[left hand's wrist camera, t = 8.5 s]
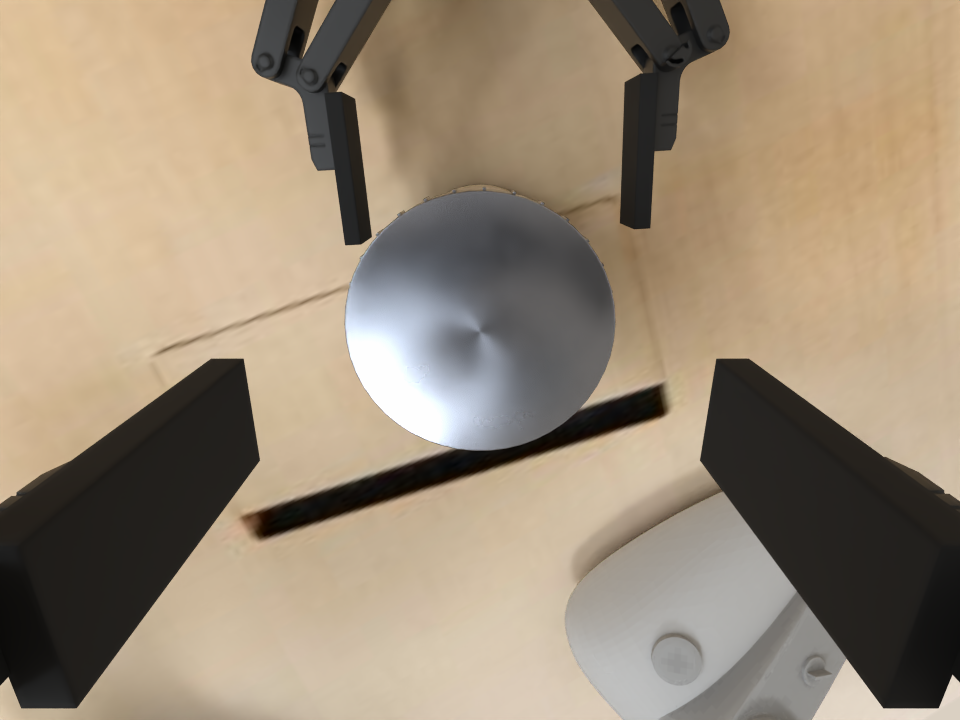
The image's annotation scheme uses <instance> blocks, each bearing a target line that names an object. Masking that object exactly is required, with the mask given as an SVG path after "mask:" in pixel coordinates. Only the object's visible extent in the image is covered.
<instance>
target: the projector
mask: <svg viewBox="0 0 960 720" xmlns="http://www.w3.org/2000/svg"><path fill="white" fill-rule="evenodd" d="M565 628H566V633H567V638H568V641H569V645H570V647H571V650H572V653H573V655H574V657H575V660H576V661H577V663H578V665H579V667H580V668H581V670H582V671H583V673H584V674H585V676H586V677H587V678H588V680H589V681H590V683H591V684H592V685H593V686H594V688H595V689H596V690H597V691H598V692H599V694H600V695H601V696H602V697H603V698H604V700H605V701H606V702H607V703H608V704H609V705H610V706H611V707H612V708H613V709H614V711H615V712H616V713H617V714H618V715H619V716H620V717H621V718H622V719H623V720H812V718H813V717H814V715H815V713H816V711H817V710H818V708H819V706H820V705H821V703H822V701H823V699H824V698H825V696H826V694H827V693H828V691H829V689H830V687H831V685H832V684H833V682H834V680H835V678H836V676H837V675H838V673H839V671H840V669H841V667H842V665H843V664H844V662H845V660H846V657H845V656H844V654H843V653H842V652H841V650H840V649H839V647H838V646H837V645H836V643H835V642H834V641H833V639H832V638H831V637H830V635H829V634H828V633H827V631H826V630H825V629H824V627H823V626H822V625H821V623H820V622H819V620H818V619H817V618H816V616H815V615H814V614H813V612H812V611H811V610H810V608H809V607H808V606H807V604H806V603H805V602H804V600H803V599H802V597H801V596H800V595H799V593H798V592H797V591H796V589H795V588H794V587H793V585H792V584H791V583H790V581H789V580H788V579H787V577H786V576H785V575H784V573H783V572H782V570H781V569H780V568H779V566H778V565H777V564H776V562H775V561H774V560H773V558H772V557H771V556H770V554H769V553H768V552H767V550H766V549H765V547H764V546H763V545H762V543H761V542H760V541H759V539H758V538H757V537H756V535H755V534H754V533H753V531H752V530H751V529H750V527H749V526H748V525H747V523H746V522H745V520H744V519H743V518H742V516H741V515H740V514H739V512H738V511H737V510H736V508H735V507H734V506H733V504H732V503H731V502H730V500H729V499H728V497H727V496H726V495H725V493H724V492H723V491H722V492H720V493H718V494H715V495H713V496H711V497H709V498H707V499H705V500H703V501H701V502H699V503H697V504H695V505H693V506H691V507H689V508H687V509H685V510H683V511H681V512H680V513H678V514H676V515H674V516H672V517H670V518H669V519H667V520H665V521H663V522H662V523H660V524H658V525H657V526H655V527H653V528H651V529H650V530H648V531H646V532H645V533H643V534H642V535H640V536H638V537H637V538H635V539H634V540H632V541H631V542H629V543H628V544H626V545H625V546H623V547H622V548H620V549H619V550H617V551H616V552H614V553H613V554H611V555H610V556H609V557H607V558H606V559H605V560H603V561H602V562H601V563H599V564H598V565H597V566H596V567H595V568H594V569H592V570H591V571H590V572H589V573H588V574H587V575H586V576H585V577H584V578H583V579H582V580H581V581H580V582H579V584H578V585H577V586H576V588H575V589H574V591H573V592H572V594H571V596H570V598H569V600H568V603H567V607H566V612H565Z"/></svg>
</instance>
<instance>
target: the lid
mask: <svg viewBox="0 0 960 720" xmlns="http://www.w3.org/2000/svg"><path fill="white" fill-rule="evenodd" d="M423 200H424V202H422V203H419V204H418V205H416V206H414V207H413V208H411V209H410V210H408V211H407V212H405V211H404V210H403V211H402V212H400V213H399V214H397V215H398V217H397V218H396V219H395V220H394V221H393V222H392V223H390V224H389V225H388V226H387V227H386V228H384V229H382V230H381V231H379V232H378V233H377V234H376V236H377V237H376V238H375V239H374V240H373V242H372V243H371V244H370V246H369V247H368V249H367V250H366V252H365V253H364V254H363V255H362V256H361V257H360V259H361V260H360V262H359V264H358V266H357V268H356V270H355V272H354V274H353V277H352V280H351V282H350V284H349V285H350V287H349V290H348V295H347V301H346V306H345V333H346V342H347V346H348V350H349V355H350V358H351V361H352V364H353V366H354V369H355V371H356V374H357V376H358V377H359V379H360V381H361V383H362V385H363V387H364V388H365V390H366V391H367V393H368V394H369V395H370V397H371V398H372V399H373V401H374V402H375V403H376V404H377V405H378V406H379V407H380V408H381V410H382V411H383V412H384V413H385V414H386V415H388V416H389V417H390V418H391V419H392V420H394V421H395V422H396V423H397V424H399V425H400V426H402V427H403V428H405V429H406V430H408V431H409V432H411V433H413V434H415V435H417V436H419V437H421V438H423V439H425V440H428V441H430V442H433V443H436V444H439V445H442V446H447V447H451V448H455V449H463V450H472V451H483V450H497V449H505V448H509V447H513V446H517V445H521V444H524V443H527V442H529V441H532V440H535V439H537V438H539V437H541V436H543V435H545V434H547V433H549V432H551V431H552V430H554V429H555V428H557V427H558V426H560V425H561V424H563V423H564V422H565V421H567V420H568V419H569V418H570V417H571V416H572V415H573V414H575V413H576V412H577V411H578V410H579V409H580V407H581V406H582V405H583V404H584V403H585V402H586V401H587V400H588V398H589V397H590V395H591V394H592V393H593V391H594V390H595V388H596V387H597V385H598V383H599V381H600V379H601V377H602V376H603V374H604V372H605V369H606V366H607V364H608V361H609V358H610V355H611V351H612V346H613V342H614V333H615V306H614V300H613V295H612V290H611V286H610V283H609V280H608V278H607V275H606V272H605V270H604V268H603V266H604V265H603V263H602V262H600V260H599V258H598V256H597V254H596V253H595V252H594V250H593V249H592V247H591V246H590V244H589V243H588V242H589V240H588V239H587V238H586V237H584V236H583V235H581V234H580V233H579V232H578V231H577V230H576V228H575V227H573V226H572V225H571V224H570V223H569V222H568V221H569V219H568V218H566V217H565V216H563V215H562V217H561V216H560V215H558V214H557V213H555V212H554V211H552V210H550V209H549V208H547V207H545V206H544V203H543V202H542V201H540V200H538V202H536V201H534V200H532V199H529V198H527V197H525V196H522V195H518V194H516V192H515V191H514V190H511V192H507V191H502V190H494V189H486V186H483V189H466V190H459V191H457V188H455V189H453V190H452V192H449V193H445V194H442V195H438V196H435V197H433V198H431V199H430V198H429V196H428V197H426V198H425V199H423Z"/></svg>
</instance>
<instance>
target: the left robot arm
mask: <svg viewBox="0 0 960 720" xmlns="http://www.w3.org/2000/svg"><path fill="white" fill-rule="evenodd" d="M259 461H260V458H259V452H258V445H257V439H256V433H255V427H254V421H253V414H252V408H251V402H250V396H249V389H248V383H247V377H246V371H245V365H244V359H210V360H209V361H207V362H206V363H205V364H203V365H202V366H201V367H199V368H198V369H196V370H195V371H194V372H192V373H191V374H190V375H188V376H187V377H186V378H184V379H183V380H181V381H180V382H179V383H177V384H176V385H175V386H173V387H172V388H170V389H169V390H168V391H166V392H165V393H164V394H162V395H161V396H159V397H158V398H157V399H155V400H154V401H153V402H151V403H150V404H148V405H147V406H146V407H144V408H143V409H142V410H140V411H139V412H137V413H136V414H135V415H133V416H132V417H131V418H129V419H128V420H126V421H125V422H124V423H122V424H121V425H120V426H118V427H117V428H116V429H114V430H113V431H111V432H110V433H109V434H107V435H106V436H105V437H103V438H102V439H100V440H99V441H98V442H96V443H95V444H94V445H92V446H91V447H89V448H88V449H87V450H85V451H84V452H83V453H81V454H80V455H78V456H77V457H76V458H74V459H73V460H72V461H70V462H67V463H65V464H63V465H61V466H59V467H57V468H55V469H52V470H50V471H48V472H46V473H44V474H42V475H40V476H39V477H38V478H36V479H35V480H33V481H32V482H31V483H29V484H28V485H26V486H25V487H24V488H22V489H21V490H19V491H18V492H17V495H16V496H11V497H9V498H8V499H7V500H5V501H4V502H2V503H1V504H0V685H1V684H2V683H3V682H4V681H5V680H6V679H7V678H8V677H9V679H10V682H11V684H12V687H13V689H14V691H15V694H16V696H17V699H18V701H19V704H20V706H21V708H77V707H78V706H79V704H80V703H81V702H82V700H83V699H84V697H85V696H86V695H87V693H88V692H89V691H90V689H91V688H92V687H93V685H94V684H95V683H96V681H97V680H98V679H99V677H100V676H101V675H102V673H103V672H104V670H105V669H106V668H107V666H108V665H109V664H110V662H111V661H112V660H113V658H114V657H115V656H116V654H117V653H118V652H119V650H120V649H121V647H122V646H123V645H124V643H125V642H126V641H127V639H128V638H129V637H130V635H131V634H132V633H133V631H134V630H135V629H136V627H137V626H138V625H139V623H140V622H141V620H142V619H143V618H144V616H145V615H146V614H147V612H148V611H149V610H150V608H151V607H152V606H153V604H154V603H155V602H156V600H157V599H158V597H159V596H160V595H161V593H162V592H163V591H164V589H165V588H166V587H167V585H168V584H169V583H170V581H171V580H172V579H173V577H174V576H175V575H176V573H177V572H178V570H179V569H180V568H181V566H182V565H183V564H184V562H185V561H186V560H187V558H188V557H189V556H190V554H191V553H192V552H193V550H194V549H195V547H196V546H197V545H198V543H199V542H200V541H201V539H202V538H203V537H204V535H205V534H206V533H207V531H208V530H209V529H210V527H211V526H212V525H213V523H214V522H215V520H216V519H217V518H218V516H219V515H220V514H221V512H222V511H223V510H224V508H225V507H226V506H227V504H228V503H229V502H230V500H231V499H232V497H233V496H234V495H235V493H236V492H237V491H238V489H239V488H240V487H241V485H242V484H243V483H244V481H245V480H246V479H247V477H248V476H249V474H250V473H251V472H252V470H253V469H254V468H255V466H256V465H257V464H258V462H259ZM700 461H701V462H702V464H703V465H704V466H705V468H706V469H707V470H708V472H709V473H710V474H711V476H712V477H713V479H714V480H715V481H716V483H717V484H718V485H719V487H720V488H721V489H722V491H723V492H724V493H725V495H726V496H727V497H728V499H729V500H730V502H731V503H732V504H733V506H734V507H735V508H736V510H737V511H738V512H739V514H740V515H741V516H742V518H743V519H744V520H745V522H746V523H747V525H748V526H749V527H750V529H751V530H752V531H753V533H754V534H755V535H756V537H757V538H758V539H759V541H760V542H761V543H762V545H763V546H764V547H765V549H766V550H767V552H768V553H769V554H770V556H771V557H772V558H773V560H774V561H775V562H776V564H777V565H778V566H779V568H780V569H781V570H782V572H783V573H784V575H785V576H786V577H787V579H788V580H789V581H790V583H791V584H792V585H793V587H794V588H795V589H796V591H797V592H798V593H799V595H800V596H801V597H802V599H803V600H804V602H805V603H806V604H807V606H808V607H809V608H810V610H811V611H812V612H813V614H814V615H815V616H816V618H817V619H818V620H819V622H820V623H821V625H822V626H823V627H824V629H825V630H826V631H827V633H828V634H829V635H830V637H831V638H832V639H833V641H834V642H835V643H836V645H837V646H838V647H839V649H840V650H841V652H842V653H843V654H844V656H845V657H846V658H847V660H848V661H849V662H850V664H851V665H852V666H853V668H854V669H855V670H856V672H857V673H858V675H859V676H860V677H861V679H862V680H863V681H864V683H865V684H866V685H867V687H868V688H869V689H870V691H871V692H872V693H873V695H874V696H875V697H876V699H877V700H878V702H879V703H880V704H881V706H882V707H883V708H939V706H940V704H941V701H942V699H943V696H944V694H945V691H946V689H947V686H948V684H949V682H950V679H951V677H952V674H953V675H954V677H955V678H956V679H957V680H958V681H959V682H960V501H959V500H957V499H956V498H954V497H953V496H952V495H950V494H945V493H944V490H943V489H942V488H940V487H939V486H937V485H936V484H934V483H933V482H932V481H930V480H929V479H927V478H926V477H925V476H923V475H922V474H920V473H919V472H917V471H915V470H913V469H910V468H908V467H906V466H904V465H902V464H900V463H897V462H895V461H893V460H891V459H889V458H887V457H883V456H882V455H880V454H879V453H877V452H876V451H875V450H873V449H872V448H871V447H869V446H868V445H866V444H865V443H864V442H862V441H861V440H860V439H858V438H857V437H855V436H854V435H853V434H851V433H850V432H849V431H847V430H846V429H844V428H843V427H842V426H840V425H839V424H838V423H836V422H835V421H834V420H832V419H831V418H829V417H828V416H827V415H825V414H824V413H823V412H821V411H820V410H818V409H817V408H816V407H814V406H813V405H812V404H810V403H809V402H807V401H806V400H805V399H803V398H802V397H801V396H799V395H798V394H796V393H795V392H794V391H792V390H791V389H790V388H788V387H787V386H785V385H784V384H783V383H781V382H780V381H779V380H777V379H776V378H774V377H773V376H772V375H770V374H769V373H768V372H766V371H765V370H764V369H762V368H761V367H759V366H758V365H757V364H755V363H754V362H753V361H751V360H750V359H716V365H715V371H714V377H713V383H712V389H711V396H710V402H709V408H708V414H707V421H706V427H705V433H704V439H703V445H702V452H701V458H700Z"/></svg>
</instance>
